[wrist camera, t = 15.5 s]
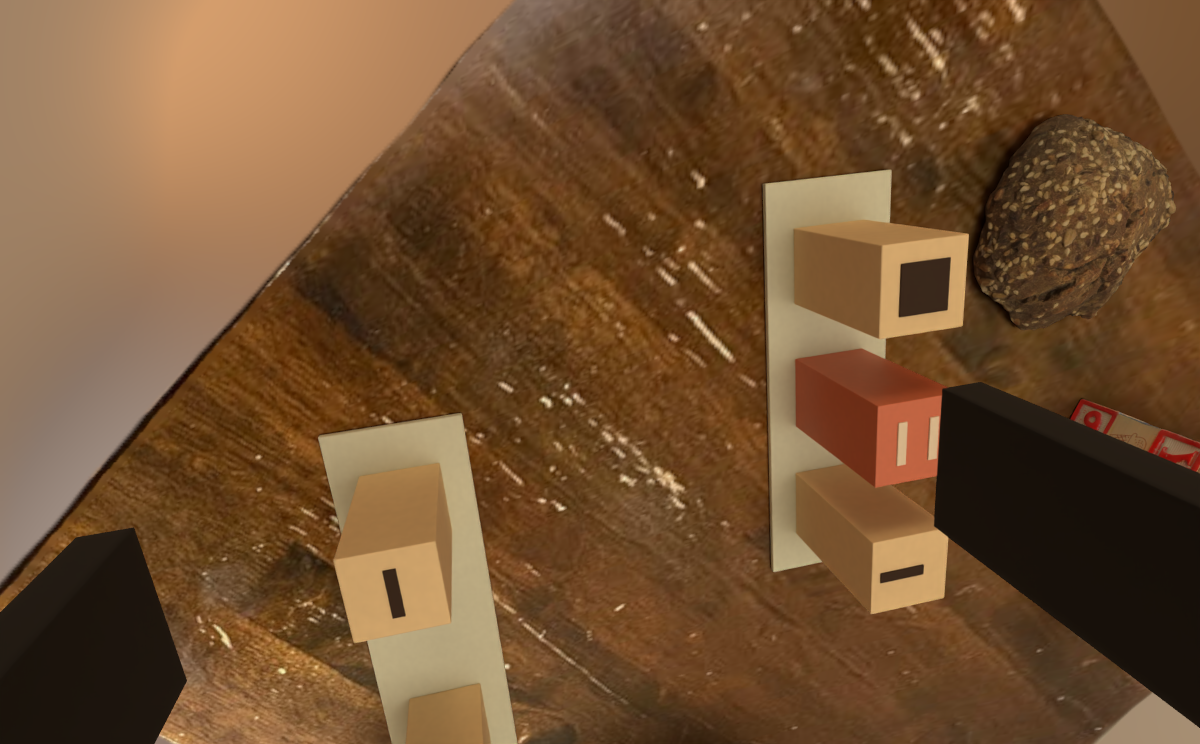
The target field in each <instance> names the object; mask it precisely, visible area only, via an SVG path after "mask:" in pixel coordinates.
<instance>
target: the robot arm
mask: <svg viewBox="0 0 1200 744" xmlns="http://www.w3.org/2000/svg"><path fill="white" fill-rule="evenodd" d="M934 527H936V528H937V529H938V530H939V531H941V532H942V533H943V534H945V535H946V536H947V537H949V538H950V539H951V540H953V541H954V542H955V543H957V544H958V545H959V546H961V547H962V548H963V549H965V550H966V551H967V552H968V553H970V554H971V555H972V556H974V557H975V558H976V559H978V560H979V561H980V562H982V563H983V564H984V565H986V566H987V567H988V568H990V569H991V570H992V571H994V572H995V573H996V574H997V575H999V576H1000V577H1001V578H1003V579H1004V580H1005V581H1007V582H1008V583H1009V584H1011V585H1012V586H1013V587H1015V588H1016V589H1017V590H1019V591H1020V592H1021V593H1023V594H1024V595H1025V596H1026V597H1028V598H1029V599H1030V600H1032V601H1033V602H1034V603H1036V604H1037V605H1038V606H1040V607H1041V608H1042V609H1044V610H1045V611H1046V612H1048V613H1049V614H1050V615H1052V616H1053V617H1054V618H1055V619H1057V620H1058V621H1059V622H1061V623H1062V624H1063V625H1065V626H1066V627H1067V628H1069V629H1070V630H1071V631H1073V632H1074V633H1075V634H1077V635H1078V636H1079V637H1081V638H1082V639H1083V640H1084V641H1086V642H1087V643H1088V644H1090V645H1091V646H1092V647H1094V648H1095V649H1096V650H1098V651H1099V652H1100V653H1102V654H1103V655H1104V656H1106V657H1107V658H1108V659H1110V660H1111V661H1112V662H1113V663H1115V664H1116V665H1117V666H1119V667H1120V668H1121V669H1123V670H1124V671H1125V672H1127V673H1128V674H1129V675H1131V676H1132V677H1133V678H1135V679H1136V680H1137V681H1139V682H1140V683H1141V684H1142V685H1144V686H1145V687H1146V688H1148V689H1149V690H1150V691H1152V692H1153V693H1154V694H1156V695H1157V696H1158V697H1160V698H1161V699H1162V700H1164V701H1165V702H1166V703H1168V704H1169V705H1170V706H1172V707H1173V708H1174V709H1175V710H1177V711H1178V712H1179V713H1181V714H1182V715H1183V716H1185V717H1186V718H1187V719H1189V720H1190V721H1191V722H1193V723H1194V724H1195V725H1197V726H1198V727H1199V728H1200V473H1198V472H1196V471H1193V470H1191V469H1188V468H1186V467H1184V466H1181V465H1179V464H1176V463H1174V462H1172V461H1169V460H1167V459H1164V458H1162V457H1160V456H1157V455H1155V454H1152V453H1150V452H1148V451H1145V450H1143V449H1140V448H1138V447H1136V446H1133V445H1131V444H1128V443H1126V442H1124V441H1121V440H1119V439H1116V438H1114V437H1112V436H1109V435H1107V434H1104V433H1102V432H1100V431H1097V430H1095V429H1092V428H1090V427H1088V426H1085V425H1083V424H1080V423H1078V422H1076V421H1073V420H1071V419H1068V418H1066V417H1064V416H1061V415H1059V414H1056V413H1054V412H1052V411H1049V410H1047V409H1044V408H1042V407H1040V406H1037V405H1035V404H1032V403H1030V402H1028V401H1025V400H1023V399H1020V398H1018V397H1016V396H1013V395H1011V394H1008V393H1006V392H1004V391H1001V390H999V389H996V388H994V387H991V386H989V385H987V384H984V383H982V382H978V383H972V384H967V385H961V386H955V387H949V388H943V389H942V401H941V417H940V433H939V450H938V466H937V482H936V499H935V515H934ZM186 682H187V679H186V677H185V674H184V671H183V668H182V665H181V662H180V659H179V656H178V653H177V651H176V648H175V645H174V642H173V639H172V636H171V633H170V630H169V627H168V625H167V622H166V619H165V616H164V613H163V610H162V607H161V604H160V601H159V599H158V596H157V593H156V590H155V587H154V584H153V581H152V578H151V575H150V573H149V570H148V567H147V564H146V561H145V558H144V555H143V552H142V549H141V547H140V544H139V541H138V538H137V535H136V532H135V529H134V528H129V529H123V530H117V531H111V532H105V533H100V534H94V535H88V536H82V537H76V538H75V539H74V540H73V541H72V542H71V543H70V544H69V545H68V546H67V547H66V548H65V549H64V550H63V551H62V552H61V553H60V554H59V555H58V556H57V557H56V558H55V559H54V560H53V561H52V562H51V563H50V564H49V565H48V566H47V567H46V568H45V569H44V570H43V571H42V572H41V573H40V574H39V575H38V576H37V577H36V578H35V579H34V580H33V581H32V582H31V583H30V584H29V585H28V586H27V587H26V588H25V589H24V590H23V591H22V592H21V593H20V594H19V595H17V596H16V597H15V598H14V599H13V600H12V601H11V602H10V603H9V604H8V605H7V606H6V607H5V608H4V609H3V610H2V611H1V612H0V744H154V743H155V741H156V740H157V738H158V736H159V734H160V732H161V730H162V728H163V726H164V724H165V722H166V720H167V718H168V716H169V715H170V713H171V711H172V709H173V707H174V705H175V703H176V701H177V699H178V697H179V695H180V693H181V691H182V689H183V688H184V686H185V684H186Z"/></svg>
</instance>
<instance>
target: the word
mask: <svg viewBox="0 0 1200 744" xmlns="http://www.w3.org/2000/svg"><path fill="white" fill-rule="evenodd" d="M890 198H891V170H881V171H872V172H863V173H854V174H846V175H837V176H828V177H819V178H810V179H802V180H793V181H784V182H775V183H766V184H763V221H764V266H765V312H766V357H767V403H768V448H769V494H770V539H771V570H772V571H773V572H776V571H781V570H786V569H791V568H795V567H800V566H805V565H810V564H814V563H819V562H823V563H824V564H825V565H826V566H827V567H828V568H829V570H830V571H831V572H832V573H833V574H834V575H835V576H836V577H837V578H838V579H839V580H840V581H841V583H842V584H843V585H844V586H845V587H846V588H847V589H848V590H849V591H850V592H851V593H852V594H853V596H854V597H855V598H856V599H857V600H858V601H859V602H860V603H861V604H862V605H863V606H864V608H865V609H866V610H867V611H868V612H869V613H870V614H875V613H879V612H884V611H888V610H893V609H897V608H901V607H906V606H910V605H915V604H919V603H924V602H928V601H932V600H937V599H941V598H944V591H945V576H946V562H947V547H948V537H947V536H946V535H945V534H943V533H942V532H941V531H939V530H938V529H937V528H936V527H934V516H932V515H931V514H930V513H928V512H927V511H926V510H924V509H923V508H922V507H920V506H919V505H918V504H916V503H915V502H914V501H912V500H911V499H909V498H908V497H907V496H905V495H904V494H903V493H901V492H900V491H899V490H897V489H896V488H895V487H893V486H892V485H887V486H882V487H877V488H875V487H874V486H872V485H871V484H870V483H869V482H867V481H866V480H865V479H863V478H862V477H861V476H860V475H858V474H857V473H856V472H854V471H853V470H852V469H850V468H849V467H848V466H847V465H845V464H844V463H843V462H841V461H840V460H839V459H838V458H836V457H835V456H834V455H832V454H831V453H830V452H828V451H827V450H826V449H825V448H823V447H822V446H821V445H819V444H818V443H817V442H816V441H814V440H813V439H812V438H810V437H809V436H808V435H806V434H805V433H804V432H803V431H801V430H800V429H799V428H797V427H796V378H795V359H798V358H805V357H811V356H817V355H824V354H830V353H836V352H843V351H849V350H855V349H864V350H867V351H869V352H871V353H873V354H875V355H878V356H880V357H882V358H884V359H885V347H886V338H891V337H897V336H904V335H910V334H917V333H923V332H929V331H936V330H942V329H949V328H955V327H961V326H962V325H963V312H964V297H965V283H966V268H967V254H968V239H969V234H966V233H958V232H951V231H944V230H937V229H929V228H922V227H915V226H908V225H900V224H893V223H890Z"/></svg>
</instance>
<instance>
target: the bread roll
mask: <svg viewBox="0 0 1200 744" xmlns="http://www.w3.org/2000/svg"><path fill="white" fill-rule="evenodd" d="M1166 172H1167V169H1166V168H1165V167H1164V166H1163V165H1162V164H1160V162H1159V161H1158V160H1157V159H1155V158H1154V157H1153V156H1152V153H1151V151H1150V150H1148V149H1146V148H1144V147H1143V146H1142V145H1141V144H1139V143H1137V142H1133V141H1132V140H1131V139H1130V138H1129V137H1127V136H1125V135H1124V134H1123V133H1120V132H1115V131H1113V130H1112V129H1110V128H1108V127H1106V128H1104V127H1102V126H1100V125H1099V124H1097V123H1096V122H1094V120H1091V119H1083V118H1082V117H1076V116H1073V115H1066V114H1064V115H1059V116H1055V117H1052V118H1050V119H1048V120H1046V121H1044V122H1043V123H1041V124H1040V125H1038V126H1036V127H1035V128H1034V129H1033V131H1032V133H1031V134H1030V136H1029V137H1028V138H1027V140H1026V141H1025V142H1024V143H1023V145H1022V146H1021V147H1020V148H1019V149H1018V150H1017V151H1016V152H1015V153H1014V154H1013V155H1012V157H1011V158H1010V159H1009V167H1008V168H1007V169H1006V170H1005V171H1004V173H1003V175H1002V177H1001V179H1000V181H999V183H998V185H997V187H996V189H995V190H994V191H993V192H992V193H991V194H990V196H989V199H988V202H987V204H986V207H985V217H986V222H985V224H984V227H983V229H982V232H981V235H980V239H979V244H978V246H977V248H976V251H975V253H974V256H973V265H974V274H975V277H976V279H977V282H978V283H979V285H980V287H981V289H982V291H983V292H984V293H986V294H987V295H989V296H990V297H991V298H992V299H993V300H994V301H997V302H998V303H1000V304H1001V305H1002V306H1003V307H1004V309H1005V310H1007V311H1008V312H1009V315H1010V319H1011V321H1012V322H1013V323H1014V324H1015V325H1016V326H1017V327H1018V328H1020V329H1021V330H1028V329H1031V330H1036V329H1037V328H1046V327H1048V326H1049V325H1051V324H1053V323H1055V322H1057V321H1059V320H1061V319H1063V318H1064V317H1065V316H1067V315H1072V316H1077V315H1078V316H1081V317H1082V318H1086V319H1091V318H1092V317H1094V316H1095V315H1097V310H1098V309H1099V308H1101V307H1102V306H1103V305H1104V304H1105V303H1106V302H1107V300H1108V299H1109V298H1110V297H1111V296H1112V294H1113V293H1114V292H1115V291H1116V290H1117V288H1118V286H1119V285H1121V284H1122V280H1123V277H1124V276H1125V275H1126V273H1127V272H1128V271H1129V269H1130V268H1131V265H1132V264H1133V262H1134V260H1135V259H1136V258H1137V257H1138V256H1139V255H1140V254H1141V253H1142V251H1143V250H1145V249H1146V248H1147V246H1148V244H1149V243H1150V242H1151V241H1152V240H1153V239H1154V238H1155V236H1156V235H1157V234H1158V233H1159V232H1160V230H1162V229H1163V228H1165V227H1167V226H1168V224H1169V222H1170V215H1171V214H1172V213H1174V212H1175V209H1176V206H1175V204H1174V202H1173V197H1174V193H1173V191H1172V190H1171V186H1170V185H1171V183H1170V182H1169V180H1168V175H1167V174H1166Z"/></svg>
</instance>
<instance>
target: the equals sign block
mask: <svg viewBox="0 0 1200 744" xmlns="http://www.w3.org/2000/svg"><path fill="white" fill-rule="evenodd" d="M795 378H796V427H797V428H799V429H800V430H801V431H803V432H804V433H805V434H806V435H808V436H809V437H810V438H812V439H813V440H814V441H816V442H817V443H818V444H819V445H821V446H822V447H823V448H825V449H826V450H827V451H828V452H830V453H831V454H832V455H834V456H835V457H836V458H838V459H839V460H840V461H841V462H843V463H844V464H845V465H847V466H848V467H849V468H850V469H852V470H853V471H854V472H856V473H857V474H858V475H860V476H861V477H862V478H863V479H865V480H866V481H867V482H869V483H870V484H871V485H872V486H874V487H875V488H877V487H882V486H887V485H892V484H897V483H903V482H908V481H913V480H918V479H923V478H928V477H933V476H937V466H938V450H939V433H940V417H941V401H942V389H943V388H948V387H946V386H943V385H941V384H939V383H937V382H935V381H932V380H930V379H928V378H926V377H924V376H922V375H919V374H917V373H915V372H913V371H911V370H908V369H906V368H904V367H902V366H900V365H897V364H895V363H893V362H891V361H889V360H886V359H884V358H882V357H880V356H878V355H875V354H873V353H871V352H869V351H867V350H864V349H855V350H849V351H843V352H836V353H830V354H824V355H817V356H811V357H805V358H798V359H795Z"/></svg>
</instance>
